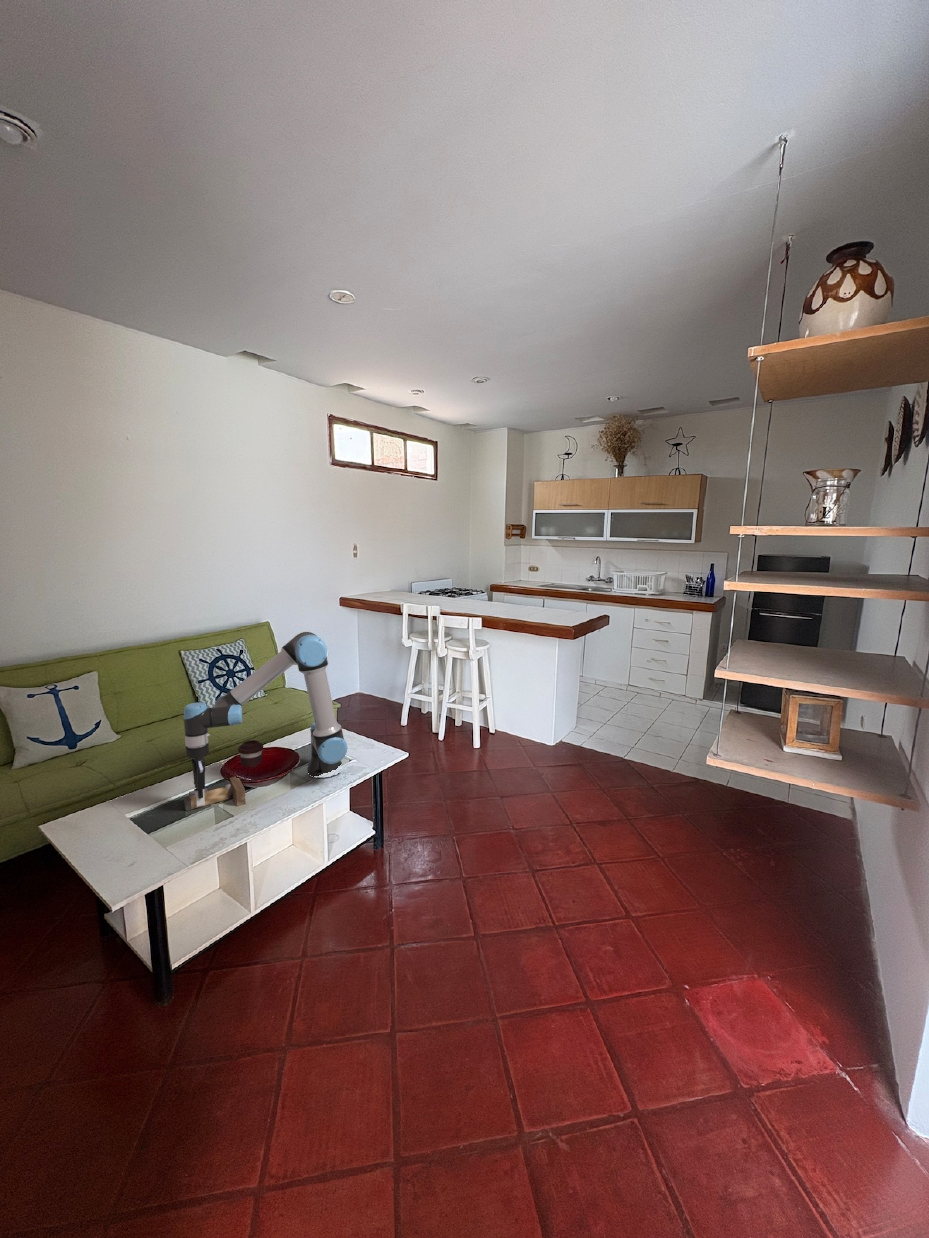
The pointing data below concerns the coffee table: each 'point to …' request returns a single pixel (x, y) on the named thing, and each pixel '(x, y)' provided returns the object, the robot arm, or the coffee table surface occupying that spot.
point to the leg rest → (195, 792)
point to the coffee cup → (250, 753)
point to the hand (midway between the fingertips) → (200, 804)
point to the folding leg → (209, 797)
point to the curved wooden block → (237, 791)
